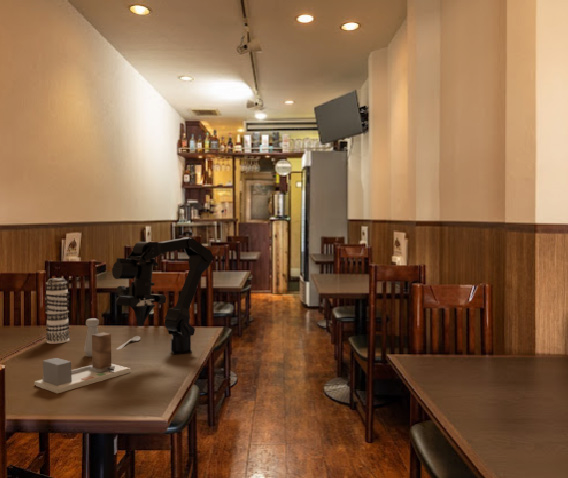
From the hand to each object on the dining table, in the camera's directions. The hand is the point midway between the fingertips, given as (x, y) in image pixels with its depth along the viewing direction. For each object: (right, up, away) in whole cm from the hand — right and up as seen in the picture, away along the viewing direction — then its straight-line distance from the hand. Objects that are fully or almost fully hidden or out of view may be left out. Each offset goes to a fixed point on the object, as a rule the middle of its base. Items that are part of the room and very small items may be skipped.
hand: (140, 325), depth 169 cm
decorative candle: (-42, -12, +32) cm, 54 cm away
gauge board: (-12, -13, -17) cm, 25 cm away
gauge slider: (-7, -11, -13) cm, 19 cm away
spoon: (-13, -12, +25) cm, 31 cm away
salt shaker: (-20, -12, +10) cm, 25 cm away
